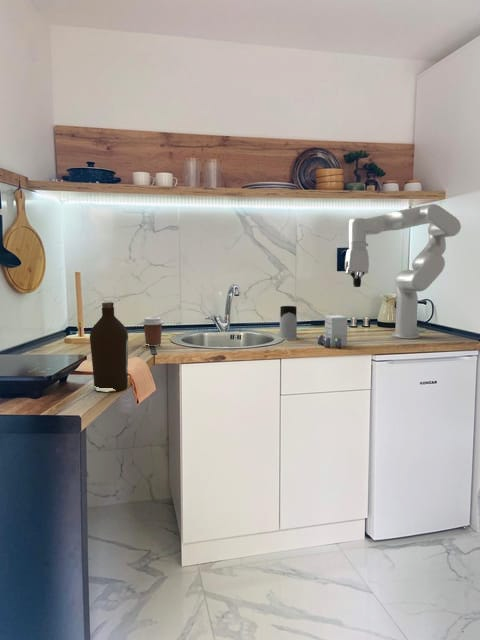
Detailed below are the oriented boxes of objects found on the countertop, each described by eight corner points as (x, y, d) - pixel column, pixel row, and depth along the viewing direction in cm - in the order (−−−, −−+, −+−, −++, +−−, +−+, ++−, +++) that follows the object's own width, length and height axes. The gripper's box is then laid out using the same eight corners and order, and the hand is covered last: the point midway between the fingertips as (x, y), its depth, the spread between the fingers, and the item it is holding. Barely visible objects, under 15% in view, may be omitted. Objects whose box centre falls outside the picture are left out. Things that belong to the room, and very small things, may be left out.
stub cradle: (327, 342, 209) (327, 333, 208) (342, 348, 194) (342, 339, 194) (314, 342, 207) (314, 334, 207) (328, 349, 193) (328, 339, 193)
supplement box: (339, 343, 207) (340, 314, 205) (347, 346, 199) (348, 316, 198) (324, 344, 205) (324, 315, 203) (331, 347, 198) (331, 317, 196)
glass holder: (279, 340, 215) (279, 307, 213) (277, 335, 229) (277, 304, 227) (298, 340, 215) (298, 307, 213) (295, 335, 229) (295, 304, 227)
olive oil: (97, 395, 129) (93, 305, 125) (88, 386, 138) (84, 302, 135) (134, 390, 134) (131, 303, 131) (123, 381, 143) (120, 300, 140)
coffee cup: (141, 344, 206) (140, 317, 204) (161, 342, 209) (161, 316, 207) (144, 347, 197) (143, 319, 196) (166, 346, 200) (165, 318, 199)
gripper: (367, 246, 216) (367, 285, 219) (338, 246, 212) (338, 287, 215) (376, 245, 209) (376, 286, 212) (346, 246, 205) (346, 288, 208)
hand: (357, 286), depth 213 cm, fingers closed
